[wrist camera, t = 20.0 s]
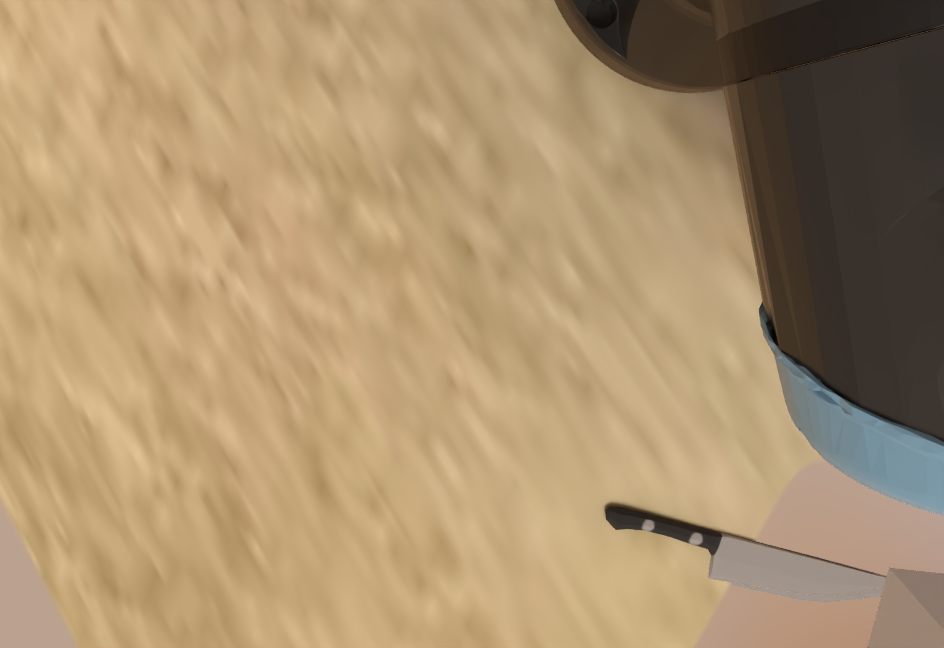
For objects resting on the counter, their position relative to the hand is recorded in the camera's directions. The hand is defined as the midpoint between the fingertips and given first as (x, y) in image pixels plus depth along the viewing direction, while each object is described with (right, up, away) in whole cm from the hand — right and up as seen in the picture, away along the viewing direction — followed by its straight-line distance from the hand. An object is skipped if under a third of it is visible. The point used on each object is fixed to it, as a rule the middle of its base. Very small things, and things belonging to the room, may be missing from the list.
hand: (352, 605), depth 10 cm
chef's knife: (+18, -10, +35) cm, 40 cm away
